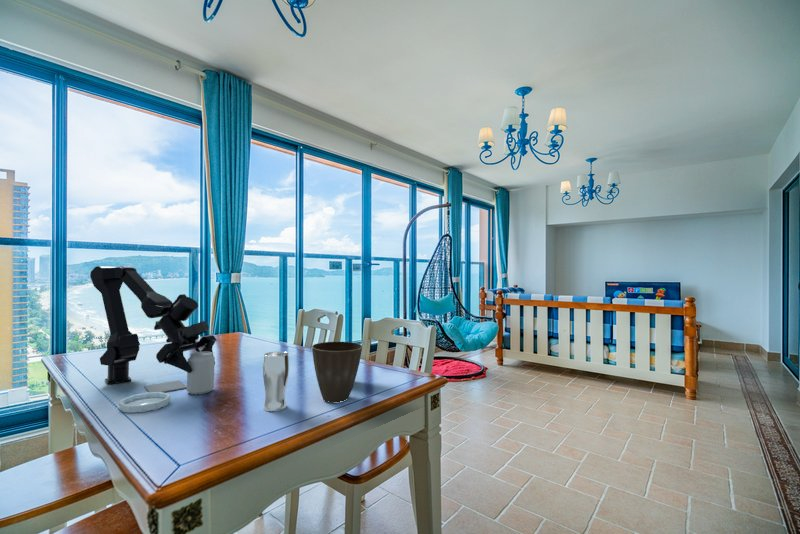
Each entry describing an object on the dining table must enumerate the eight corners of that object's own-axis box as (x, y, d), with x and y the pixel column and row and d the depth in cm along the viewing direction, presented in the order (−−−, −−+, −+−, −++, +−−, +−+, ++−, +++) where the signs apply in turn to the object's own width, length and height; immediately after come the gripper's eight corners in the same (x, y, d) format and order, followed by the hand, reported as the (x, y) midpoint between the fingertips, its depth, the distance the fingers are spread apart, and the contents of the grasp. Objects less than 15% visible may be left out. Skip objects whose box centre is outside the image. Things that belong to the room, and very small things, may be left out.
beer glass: (263, 414, 100) (265, 357, 101) (260, 405, 107) (261, 352, 107) (290, 410, 104) (291, 355, 104) (285, 402, 110) (286, 350, 110)
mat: (143, 387, 121) (143, 385, 121) (179, 381, 128) (179, 380, 128) (150, 394, 114) (150, 393, 114) (187, 388, 120) (187, 387, 120)
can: (202, 396, 113) (203, 356, 113) (180, 394, 115) (182, 354, 115) (219, 389, 120) (220, 351, 121) (198, 387, 122) (199, 349, 122)
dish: (116, 404, 105) (116, 397, 105) (163, 395, 113) (164, 389, 113) (123, 416, 97) (123, 409, 97) (173, 405, 105) (174, 399, 105)
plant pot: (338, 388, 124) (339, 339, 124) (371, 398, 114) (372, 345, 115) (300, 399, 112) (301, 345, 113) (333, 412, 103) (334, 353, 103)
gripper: (164, 316, 110) (194, 357, 107) (212, 311, 128) (239, 345, 125) (143, 342, 112) (171, 382, 109) (193, 332, 130) (219, 367, 127)
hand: (203, 368), depth 117 cm, fingers open, 9 cm apart
